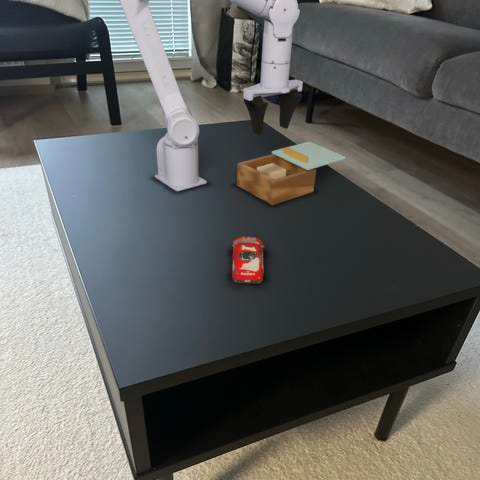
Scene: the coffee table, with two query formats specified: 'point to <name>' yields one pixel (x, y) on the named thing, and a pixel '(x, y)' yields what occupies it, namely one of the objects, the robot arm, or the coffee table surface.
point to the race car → (247, 260)
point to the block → (272, 171)
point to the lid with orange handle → (308, 155)
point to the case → (278, 189)
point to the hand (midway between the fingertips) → (270, 130)
